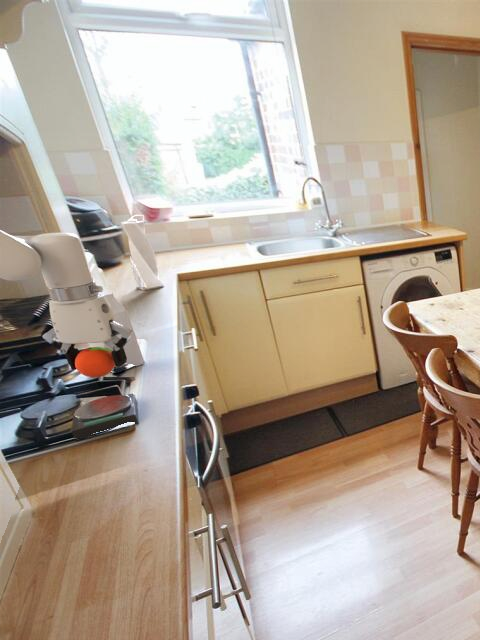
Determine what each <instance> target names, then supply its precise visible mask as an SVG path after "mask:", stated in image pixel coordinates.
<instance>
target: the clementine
mask: <svg viewBox="0 0 480 640" xmlns="http://www.w3.org/2000/svg"><path fill="white" fill-rule="evenodd" d="M110 351H112V350H110V349H107V348H103V347H87V348H84V349H82V350H81V351H79V352H80V353H79V354H78V355H77V357H76V359H75V367H76V370H77V372H78V373H80V374H81V375H83V376H85V377H88V378H101V377H104V376H107V375H108V374H111V373H110V372H111V371H112V370H113V368H114V367H115V363H114V360H113V357H112V354H111V352H110Z"/></svg>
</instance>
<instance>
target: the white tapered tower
mask: <svg viewBox="0 0 480 640" xmlns="http://www.w3.org/2000/svg"><path fill="white" fill-rule="evenodd" d="M139 216H140V217H141V216H142V220H138V219H137V218H134V217H139ZM145 218H146V215H145V214H141V213H139V214H138V213H137V214H134V215H133V214H132V215H131V216H130V217H129V219H127V220H123V221H121V222H120V224H121V226H122V228H123V230H124V232H125V234H126V236H127V238H128V247H129V252H130V255H129V259H130V260H129V261H130V264H131V270H132V274H133V277H134V281H135V284H136V288H137V289H139V290H140V291H143V292H145V291H149V290H155V289H160V288H163V287H165V285H164V284H163V283H162V282H161V281H160V276H159V267H158V262H157V261H158V260H157V256H156V253H155V251H154V248H153V246H152V244H151V241H150V240H149V238H148V237H147V234H146V225H145V223H146V222H145ZM141 280H142V281H141Z"/></svg>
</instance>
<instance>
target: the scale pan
mask: <svg viewBox="0 0 480 640" xmlns="http://www.w3.org/2000/svg"><path fill="white" fill-rule="evenodd" d="M125 395H126V394H125ZM125 395H124V394H115V395H108V396H103V397H100V398H96V399H94V400H91V401H88V402H86V403H84V404H82V405H80V406H81V407H79V406H78V407H79V408H78V409H77V410H76V411H75V410H74V411H75V413H74V412H73V416H74V415H75V417H76V419H77V420H79V421H93V420H97V419H101V418H105V417H109V416H112V415H116V414H119V413H121V412H123V411H125V410H126V409H127V408H129V407H130V406H131V404H132V401H131V398H130V397H129V396H125Z"/></svg>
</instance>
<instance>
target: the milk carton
mask: <svg viewBox="0 0 480 640" xmlns="http://www.w3.org/2000/svg"><path fill="white" fill-rule="evenodd" d="M102 295H103V296H104V297H105V299H106V300H107V302H108V303H109V305H110V307H111V309H112V311H113V313H114V315H115V317H116V320H117V322H118V324H120V325H122V326H125V327H127V328H129V329H132V330H133V333H132V335H131V337H130V339H129V341H128V342H127V343H126V344H125V346H124V347H123V348H124V351H125V354H126V357H127V360H126V363H127V364H133V365H136V367H138V366H141V365H143V364H145V363H146V362H145V359H144V355H143V353H142V350H141V348H140V345H139V342H138V339H137V336H136V334H135V331H134V327H133V325H132V322H131V318H130V316H129V313H128V310H127V309H126V308H125V307H124V306H123V305H122V304H121V302H119V300H118V299H117V298H116V297H115V296H114V293H113V292H111V293H107V294H102ZM116 336H117V337H118V338H120V339H121V337H122V334H121V333H120V334H119V335H116ZM87 344H88V348H90V347H103V348H107V349H110V350H112V351H113V349H112V348H111V347H109V346H108V345H107V344H106V343H104V342H99V343H87ZM110 352H111V351H110Z"/></svg>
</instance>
